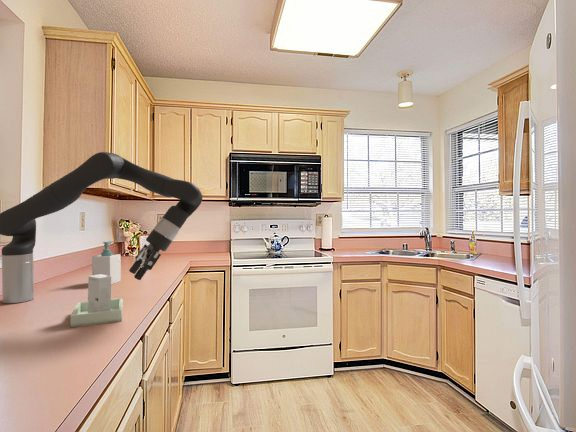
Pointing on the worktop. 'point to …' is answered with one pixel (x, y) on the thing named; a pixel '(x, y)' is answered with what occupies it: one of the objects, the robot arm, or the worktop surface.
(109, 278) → the skincare box
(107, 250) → the soap bottle
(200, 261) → the worktop surface
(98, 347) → the worktop surface
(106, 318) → the tray
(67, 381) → the worktop surface
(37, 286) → the worktop surface
